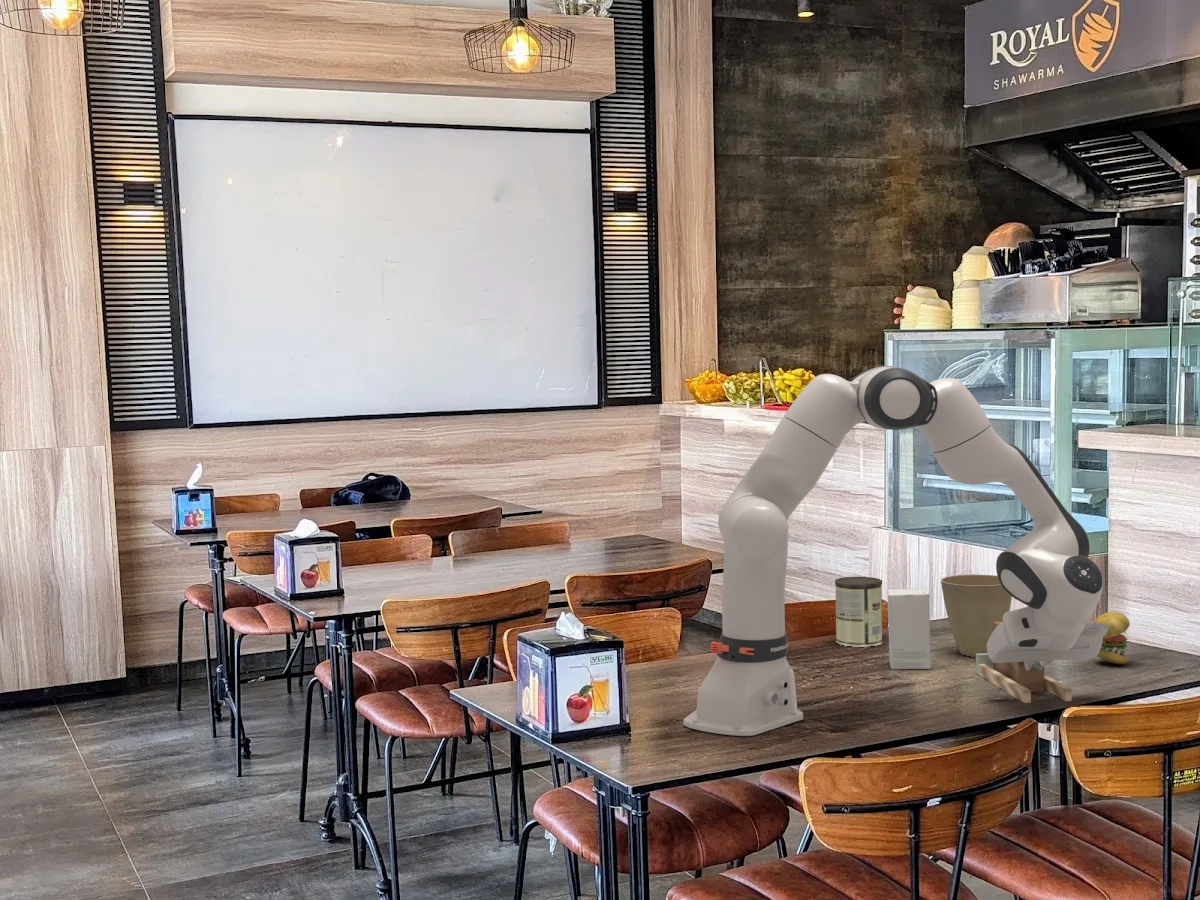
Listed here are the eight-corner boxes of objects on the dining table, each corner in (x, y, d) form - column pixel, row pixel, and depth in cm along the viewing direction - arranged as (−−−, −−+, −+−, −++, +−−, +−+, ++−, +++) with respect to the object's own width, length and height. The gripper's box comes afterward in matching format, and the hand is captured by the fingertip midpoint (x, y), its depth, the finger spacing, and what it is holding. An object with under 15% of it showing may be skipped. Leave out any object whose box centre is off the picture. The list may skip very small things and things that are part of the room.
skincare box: (929, 663, 268) (928, 588, 267) (931, 670, 261) (931, 593, 260) (887, 662, 269) (887, 587, 268) (888, 669, 263) (888, 593, 262)
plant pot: (984, 644, 285) (984, 572, 284) (1029, 657, 271) (1029, 582, 270) (926, 650, 280) (926, 577, 279) (968, 664, 266) (968, 587, 265)
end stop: (1021, 673, 258) (1021, 653, 257) (978, 674, 257) (978, 655, 257) (1019, 671, 259) (1019, 651, 259) (975, 673, 258) (975, 653, 258)
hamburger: (1137, 667, 261) (1137, 607, 260) (1106, 669, 259) (1106, 610, 259) (1113, 659, 269) (1113, 601, 268) (1082, 661, 267) (1083, 603, 266)
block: (1044, 691, 243) (1044, 633, 242) (1018, 692, 243) (1018, 634, 242) (1018, 676, 255) (1018, 621, 254) (993, 677, 255) (993, 622, 254)
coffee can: (841, 636, 296) (841, 575, 295) (886, 640, 291) (886, 577, 290) (830, 646, 286) (829, 582, 285) (877, 649, 282) (876, 584, 281)
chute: (1071, 701, 236) (1071, 689, 236) (1024, 703, 235) (1024, 691, 235) (1021, 673, 258) (1021, 662, 258) (978, 674, 257) (978, 663, 257)
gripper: (1105, 608, 235) (1080, 650, 245) (995, 612, 233) (975, 655, 243) (1117, 638, 230) (1091, 679, 241) (1005, 642, 229) (984, 684, 239)
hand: (1032, 667), depth 242 cm, fingers closed, pressing on block
